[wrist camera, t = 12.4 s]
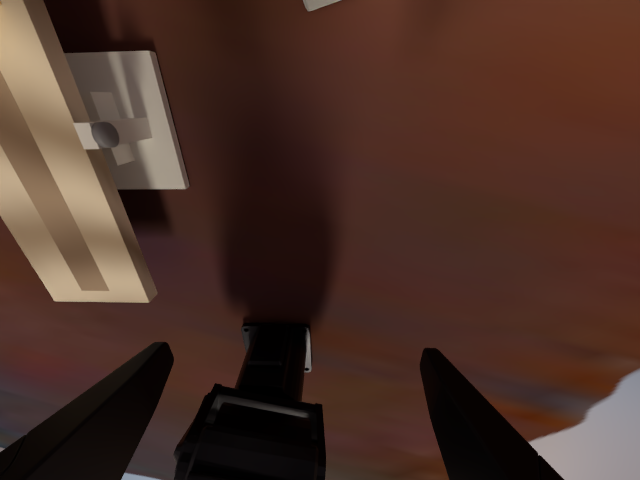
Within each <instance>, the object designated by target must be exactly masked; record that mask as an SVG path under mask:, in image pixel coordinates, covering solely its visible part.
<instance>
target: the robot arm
mask: <svg viewBox="0 0 640 480" xmlns="http://www.w3.org/2000/svg"><path fill="white" fill-rule="evenodd" d="M247 328H248V329H247ZM303 329H306V330H303ZM241 331H242V335H243V340H244V344H245V349H246V356H245V359H244V362H243V365H242V368H241V371H240V374H239V377H238V380H237V383H236V385H235V388H230V387H225V386H222V385H221V384H216V383H215V385H214V387H213V389H212V391H211V393H208V395H205V397H204V399H203V401H202V404H201V406H200V408H199V411H198V413H197V415H196V417H195V419H194V420H193V422H192V423H191V425H190V427H189V428H188V430H187V431H186V433H185V434H184V436H183V437H182V439H181V440H180V442H179V443H178V445H177V447H176V449H175V451H174V455H173V457H174V460H175V463H176V469H175V477H174V480H325V471H326V450H325V437H324V423H323V410H322V404H317V403H315V404H310V403H305V402H301V401H302V392H303V382H304V372H310V371H311V369H312V360H311V341H310V327H309V326H308V325H307V324H275V323H245V324H243V326H242V328H241ZM173 362H174V357H173V354H172V352H171V349H170V347H169V345H168V343H166V342H154V343H152V344H151V345H150V346H148V347H147V348H145V349H144V350H143V351H141V352H140V353H138V354H137V355H136V356H134V357H133V358H131V359H130V360H129V361H127V362H126V363H124V364H123V365H122V366H120V367H119V368H117V369H116V370H115V371H113V372H112V373H110V374H109V375H108V376H106V377H105V378H103V379H102V380H101V381H99V382H98V383H96V384H95V385H94V386H92V387H91V388H90V389H88V390H87V391H85V392H84V393H83V394H81V395H80V396H78V397H77V398H76V399H74V400H73V401H71V402H70V403H69V404H67V405H66V406H64V407H63V408H62V409H60V410H59V411H57V412H56V413H55V414H53V415H52V416H50V417H49V418H48V419H46V420H45V421H43V422H42V423H41V424H39V425H38V426H36V427H35V428H34V429H32V430H31V431H29V432H28V433H27V435H24V436H22V437H21V438H20V439H18V440H17V441H15V442H14V443H13V444H11V445H10V446H8V447H7V448H6V449H4V450H3V451H1V452H0V480H121V479H122V476H123V474H124V472H125V470H126V468H127V466H128V464H129V462H130V460H131V458H132V456H133V454H134V452H135V450H136V448H137V446H138V444H139V442H140V440H141V438H142V436H143V434H144V432H145V430H146V428H147V426H148V424H149V422H150V420H151V418H152V416H153V413H154V411H155V409H156V407H157V404H158V402H159V399H160V397H161V394H162V392H163V389H164V386H165V384H166V381H167V379H168V376H169V374H170V371H171V368H172V366H173ZM420 372H421V377H422V381H423V386H424V391H425V396H426V401H427V405H428V410H429V415H430V419H431V422H432V426H433V429H434V432H435V435H436V439H437V442H438V445H439V448H440V451H441V454H442V458H443V461H444V464H445V467H446V470H447V474H448V477H449V480H564V479H563V478H562V477H561V476H560V475H559V474H558V473H557V472H556V471H555V470H554V469H553V468H552V467H551V466H550V465H549V464H548V463H547V462H546V461H545V460H544V459H543V458H542V457H541V456H540V455H539V456H538V453H537V451H536V450H534V448H532V446H531V445H530V444H529V443H528V442H527V441H526V440H525V439H524V438H523V437H522V436H521V435H520V434H519V433H518V432H517V431H516V430H515V429H514V428H513V427H512V426H511V425H510V423H509V422H508V421H507V420H506V419H505V418H504V417H503V416H502V415H501V414H500V413H499V412H498V411H497V410H496V409H495V408H494V407H493V406H492V405H491V404H490V403H489V402H488V401H487V400H486V399H485V398H484V397H483V396H482V394H481V393H480V392H479V391H478V390H477V389H476V388H475V387H474V386H473V385H472V384H471V383H470V382H469V381H468V380H467V379H466V378H465V377H464V376H463V375H462V374H461V373H460V372H459V371H458V370H457V369H456V368H455V366H454V365H453V364H452V363H451V362H450V361H449V360H448V359H447V358H446V357H445V356H444V355H443V354H442V353H441V352H440V351H439V350H438V349H436V348H425V349H424V350H423V353H422V357H421V361H420Z"/></svg>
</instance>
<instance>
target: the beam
mask: <svg viewBox="0 0 640 480" xmlns="http://www.w3.org/2000/svg"><path fill="white" fill-rule="evenodd" d="M0 1H1V4H2V5H0V216H1V217H2V219H3V221H4V222H5V224H6V225H7V227H8V228H9V230H10V232H11V233H12V235H13V236H14V238H15V239H16V241H17V243H18V244H19V246H20V247H21V249H22V251H23V252H24V254H25V255H26V257H27V258H28V260H29V262H30V263H31V265H32V266H33V268H34V269H35V271H36V273H37V274H38V276H39V277H40V279H41V280H42V282H43V284H44V285H45V287H46V288H47V290H48V291H49V293H50V295H51V296H52V298H53V299H54V301H72V302H141V303H150V301H151V300H152V299H153V298H154V297H155V296H156V295H157V294H158V293H157V290H156V288H155V285H154V283H153V280H152V277H151V275H150V272H149V270H148V267H147V265H146V262H145V259H144V257H143V254H142V252H141V249H140V247H139V244H138V242H137V239H136V236H135V234H134V231H133V229H132V226H131V224H130V221H129V219H128V216H127V213H126V211H125V208H124V206H123V203H122V201H121V198H120V196H119V193H118V190H117V188H116V185H115V183H114V180H113V178H112V175H111V173H110V170H109V167H108V165H107V162H106V160H105V157H104V155H103V152H102V149H84V148H83V146H82V143H81V141H80V139H79V136H78V134H77V132H76V129H75V127H74V125H73V123H80V122H91V121H90V119H89V116H88V114H87V111H86V109H85V106H84V103H83V101H82V98H81V96H80V93H79V91H78V88H77V86H76V83H75V80H74V78H73V75H72V73H71V70H70V68H69V65H68V63H67V60H66V57H65V55H64V52H63V50H62V47H61V45H60V42H59V39H58V37H57V34H56V32H55V29H54V27H53V24H52V22H51V19H50V16H49V14H48V11H47V9H46V6H45V4H44V1H43V0H0Z"/></svg>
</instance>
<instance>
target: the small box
mask: <svg viewBox="0 0 640 480" xmlns="http://www.w3.org/2000/svg"><path fill="white" fill-rule="evenodd" d="M338 1H340V0H303V2H304V5H305V7H306V9H307V11H313V10H315V9H318V8H321V7H324V6H327V5H329V4H332V3H335V2H338Z"/></svg>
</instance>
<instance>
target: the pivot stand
mask: <svg viewBox="0 0 640 480" xmlns="http://www.w3.org/2000/svg"><path fill="white" fill-rule="evenodd" d="M64 55H65V57H66V60H67V63H68V65H69V68H70V70H71V73H72V75H73V78H74V80H75V83H76V86H77V88H78V91H79V93H80V96H81V98H82V101H83V103H84V106H85V109H86V111H87V114H88V116H89V119H90V121H91V122H80V123H73V125H74V127H75V129H76V132H77V134H78V136H79V139H80V141H81V143H82V146H83V148H84V149H102V152H103V155H104V157H105V160H106V162H107V165H108V167H109V170H110V173H111V175H112V178H113V180H114V183H115V185H116V188H117V189H187V188H188V187H190V185H189V181H188V177H187V174H186V170H185V166H184V162H183V158H182V154H181V150H180V146H179V142H178V139H177V135H176V131H175V127H174V123H173V119H172V115H171V111H170V108H169V104H168V100H167V96H166V92H165V88H164V84H163V80H162V76H161V73H160V69H159V65H158V61H157V57H156V53H155V52H152V51H120V52H88V53H64Z"/></svg>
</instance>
